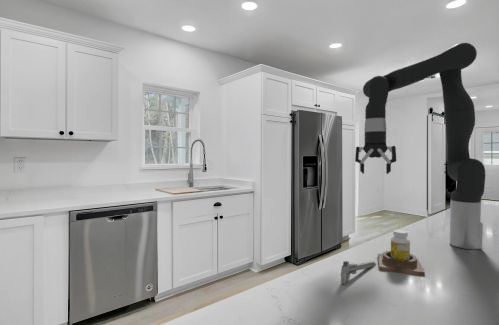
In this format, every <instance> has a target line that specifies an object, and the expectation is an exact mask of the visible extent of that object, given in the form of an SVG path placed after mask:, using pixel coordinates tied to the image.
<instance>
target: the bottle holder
mask: <svg viewBox="0 0 499 325" xmlns="http://www.w3.org/2000/svg"><path fill="white" fill-rule="evenodd" d="M377 261H378V266H379V267H378V268H379V271H387V272H393V273H400V274H401V273H402V274H410V275H415V276H416V275H417V276H422V277H423V276H425V273H426V272H425V270H424V268H423V266H422V264H421V262H420V260H419V258H418V257H417V256H416V255H414V254H412V253H410V260H405V261H404V260H396V259H393V258H391V250H385V251H383V252H382V253H377Z"/></svg>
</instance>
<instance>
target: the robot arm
mask: <svg viewBox="0 0 499 325" xmlns="http://www.w3.org/2000/svg"><path fill="white" fill-rule="evenodd" d="M477 55H478V52H477V49H476V47H475V46H474V45H473V44H471V43H468V42H461V43H457V44H454V45H452V46H450V47H448V48H447V49H445V50H444V51H442V52H441V53H439V54H437V55H435V56H432V57H429V58H426V59H424V60H421V61H418V62H414V63H412V64H408V65H405V66H403V67H401V68H397V69H395V70H393V71H391V72H388V73H387V74H385V75H376V76H374V77H372V78H370V79H369V80H367V81H366V82H365V83H364V85H363V87H362V92H363V95H364V96H365V97H367V98H368V102H367V104H366V106H365V110H364V111H365V113H364V114H365V116H364V118H365V121H364V145H363V146H356V147H355V159H354V160H355V162H356V163H359V167H360V168H359V169H360V172H361V173H362V174H365V162H366V161H367V159H368V158H371V159H372V158H378V159H379V158H382V159H383V160H384V161H385V162H386V165H385V167H386V168H385V169H386V170H385V174H386V175H389V174H390V173H391V171H392V169H391V168H392V164H393V163H396V162H397V149H396V148H397V146H395V145H392V146H387V130H388V128H387V120H386V117H387V116H386V112H387V111H386V105H387V101H388V97H389V93H390V92H392V91H395V90H399V89H403V88H405V87H408V86H411V85H413V84H415V83H418V82H420V81H423V80H425V79H428V78H430V77H432V76H434V75H437V74H439V78H440V82H441V84H440V85H441V87H442V88H441V89H442V98H443V99H442V101H443V109H444V110H443V111H444V114H443V115H444V123H445V124H444V125H445V130H446V131H445V133H446V144H447V156H446V158H447V159H446V161H447V162H446V171H447V174H448V176H449V178H451V179H452V180H453V181H455V182H456V186H455V187H456V188H455V190H453V191H451V193H450V207H449V208H450V209H449V210H450V211H449V225H450V226H449V244H450V245H451V246H453V247H456V248H458V249H459V248H460V249H465V250H483V235H484V234H483V233H484V232H483V227H484V225H483V222H481V220H482V218H481V216H482V197H483V195H484V194H485V183H486V168H485V166H484V164H483V162H482V161H481V160H479V159H476V158H471V156H470V150H469V149H470V147H469V146H470V145H469V144H470V140H471V137H472V135H473V131H474V128H475V125H476V111H475V110H476V109H475V103H474V101H473V99H472V98H471V96H470V95H469V93H468V92H467V90H466V89H465V87H464V84H463V79H462V70H464V69H465V68H468V67H469V66H471V65H472V64H473V63H474V62H475V61H476V58H477ZM362 151H363V152H364V153H365V155H364V156H363V157H362V158H361V159H359V157H360V153H361V152H362ZM387 151H389V153H391V159H390V158H389V157H388V156H387V155H386V152H387Z"/></svg>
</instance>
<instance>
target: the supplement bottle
mask: <svg viewBox="0 0 499 325" xmlns="http://www.w3.org/2000/svg"><path fill="white" fill-rule="evenodd" d="M392 232H393V236H391V238H390V251H391V258H393V259H396V260H404V261H405V260H410V254H411V240H410V238H408V235H409V234H408V231H406V230H403V229H394V230H393V231H392Z"/></svg>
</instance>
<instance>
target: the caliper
mask: <svg viewBox="0 0 499 325" xmlns="http://www.w3.org/2000/svg"><path fill="white" fill-rule="evenodd" d="M376 265H377V263H376V262H375V261H373V260H369V261H365V262H361V263H360V262H359V263H355V262H354V263H353V262H352V263H350V261H347V260H346V261H343V262H342V266H341V269H340V270H341V272H340V284H341V285H343V286H345V285H346V284H347V283H348V284H349V282H350V278H351V275H354V274H357V272H358V271H362V270H364V269H370V268H373V267H375V266H376ZM345 282H346V283H345Z"/></svg>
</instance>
